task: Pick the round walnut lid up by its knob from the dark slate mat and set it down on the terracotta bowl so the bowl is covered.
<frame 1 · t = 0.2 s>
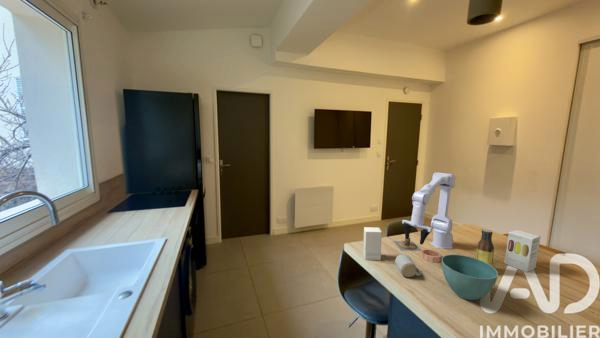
hand: (414, 241, 119), 10 cm above the counter, tool pointing down, fingers open, 7 cm apart
lid: (407, 245, 137), resting on mat
bowl: (430, 258, 123), on the counter
teal rounded hollow piece: (464, 294, 95), on the counter
mat: (407, 246, 137), on the counter
supplement box: (519, 266, 117), on the counter
skincare box: (371, 257, 123), on the counter
ceramic mug: (408, 273, 109), on the counter
sauce bottle: (483, 270, 113), on the counter
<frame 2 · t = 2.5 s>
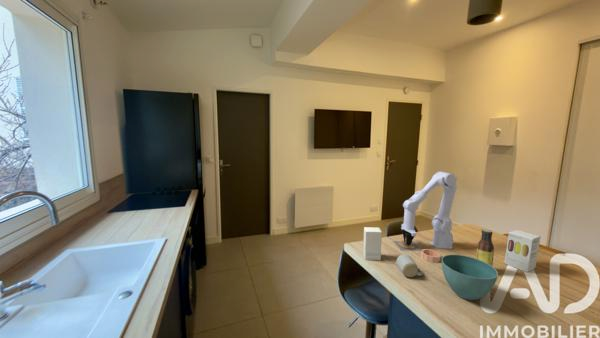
hand: (407, 243, 136), 2 cm above the counter, tool pointing down, fingers closed on lid, 3 cm apart
lid: (407, 245, 137), resting on mat, touching gripper
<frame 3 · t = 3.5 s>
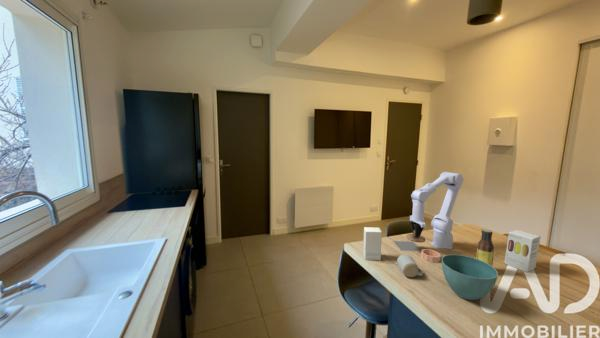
hand: (416, 235, 131), 9 cm above the counter, tool pointing down, fingers closed on lid, 3 cm apart
lid: (415, 238, 131), point 7 cm above the counter, touching gripper
everything else where it was.
when the fingers open (6 cm above the counter, at t = 4.9 s): lid stays where it is, resting on bowl.
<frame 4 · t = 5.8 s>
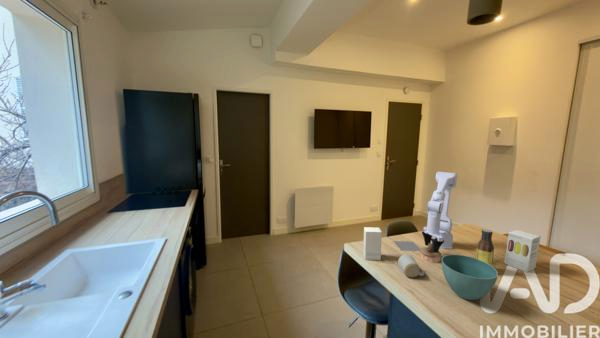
hand: (431, 248, 122), 6 cm above the counter, tool pointing down, fingers open, 7 cm apart
lid: (430, 253, 122), point 3 cm above the counter, touching bowl
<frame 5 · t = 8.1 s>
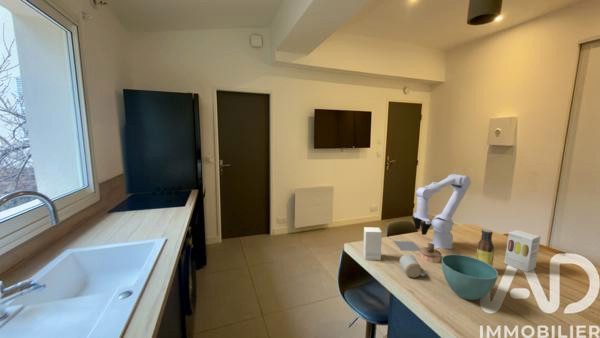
hand: (420, 231, 133), 10 cm above the counter, tool pointing down, fingers open, 7 cm apart
at the end: lid 0.3 cm off-centre on the bowl, point 3.2 cm above the bowl's base; lid tilted 0°; the gripper is holding nothing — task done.
